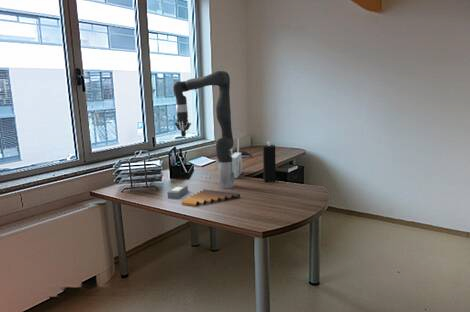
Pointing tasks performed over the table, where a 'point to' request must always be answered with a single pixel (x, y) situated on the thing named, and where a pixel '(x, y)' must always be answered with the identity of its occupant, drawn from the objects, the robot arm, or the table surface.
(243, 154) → the wireless router
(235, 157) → the skincare box
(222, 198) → the pan flute
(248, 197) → the table surface
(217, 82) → the robot arm
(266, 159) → the black bottle
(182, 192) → the slate block
